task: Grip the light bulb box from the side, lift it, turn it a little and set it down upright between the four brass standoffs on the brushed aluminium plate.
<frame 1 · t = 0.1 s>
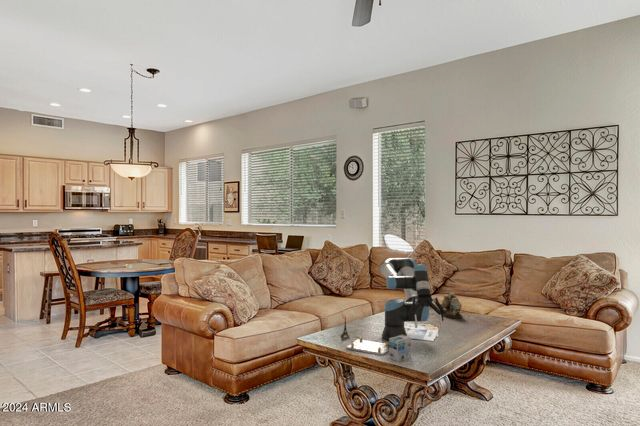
hand: (429, 327, 233), 15 cm above the table, tool tilted 35°, fingers open, 13 cm apart
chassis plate: (369, 347, 246), on the table
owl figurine: (451, 316, 315), on the table
eiffel tower figurine: (346, 338, 266), on the table
light bulb box: (400, 358, 230), on the table
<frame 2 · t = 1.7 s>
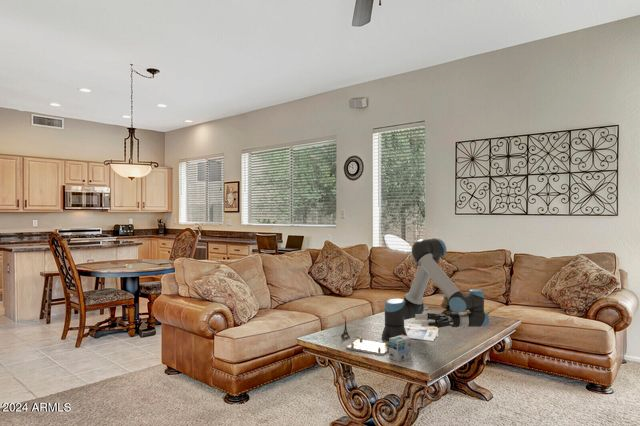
hand: (418, 320, 230), 20 cm above the table, tool horizontal, fingers open, 13 cm apart
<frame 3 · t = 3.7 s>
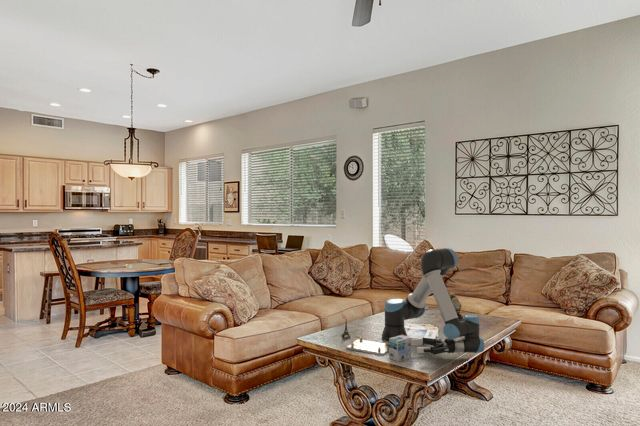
hand: (413, 345, 230), 6 cm above the table, tool horizontal, fingers open, 13 cm apart
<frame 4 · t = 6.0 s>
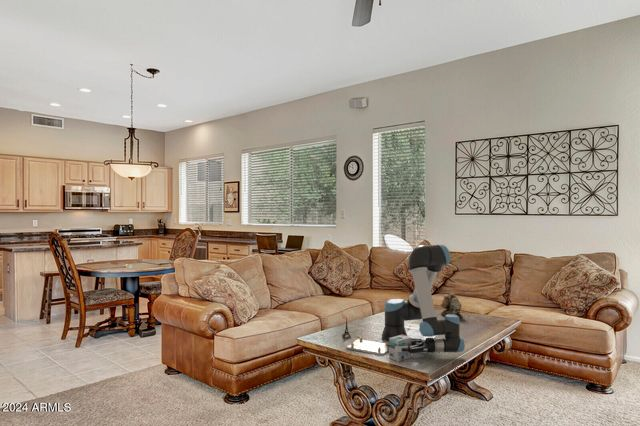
hand: (392, 345, 230), 7 cm above the table, tool horizontal, fingers closed on light bulb box, 11 cm apart
light bulb box: (400, 358, 230), on the table, touching gripper
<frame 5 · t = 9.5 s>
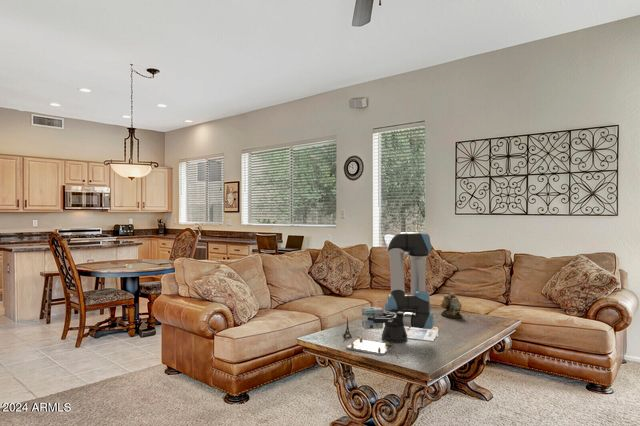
hand: (365, 315, 245), 19 cm above the table, tool horizontal, fingers closed on light bulb box, 11 cm apart
light bulb box: (372, 327, 243), point 12 cm above the table, touching gripper
when the fingers open (9 cm above the table, at t = 12.9 s): light bulb box drops 1 cm, resting on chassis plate.
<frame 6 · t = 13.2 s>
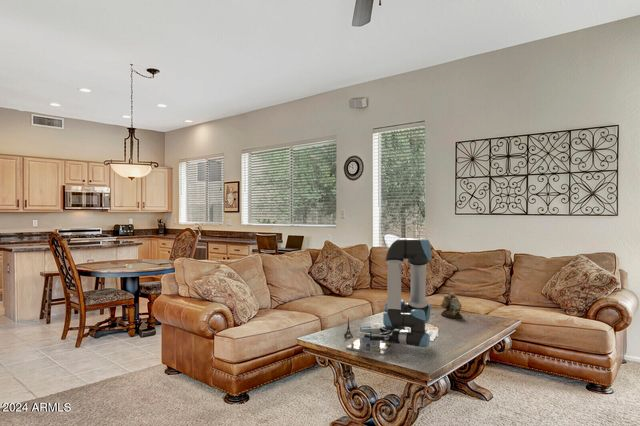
hand: (364, 331, 247), 9 cm above the table, tool horizontal, fingers open, 13 cm apart
light bulb box: (369, 346, 246), point 1 cm above the table, touching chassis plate
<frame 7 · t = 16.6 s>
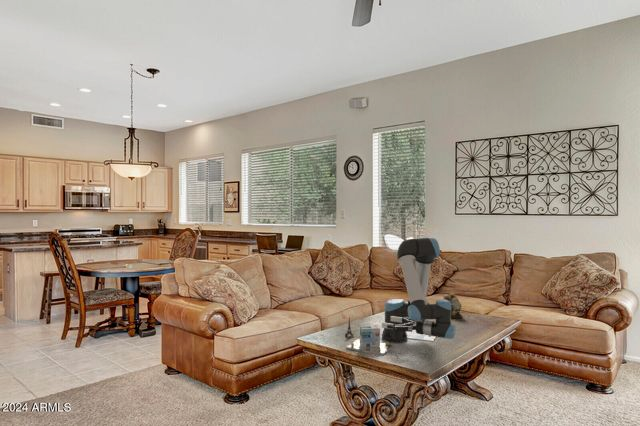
hand: (386, 321, 240), 16 cm above the table, tool horizontal, fingers open, 13 cm apart
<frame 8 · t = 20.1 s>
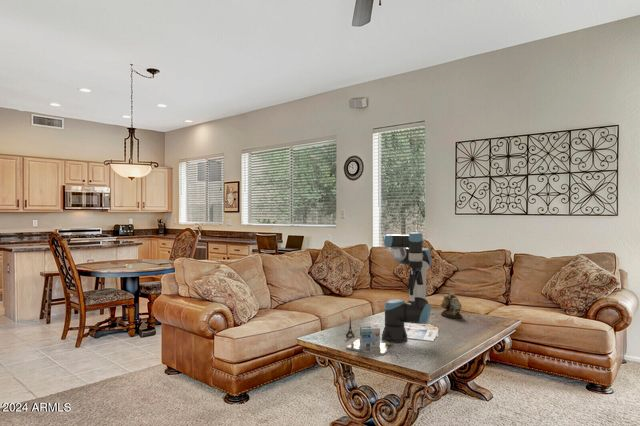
hand: (415, 298, 242), 29 cm above the table, tool pointing down, fingers open, 13 cm apart
at the end: light bulb box 0.1 cm off-centre on the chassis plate, point 1.0 cm above the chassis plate's base; light bulb box tilted 0°; the gripper is holding nothing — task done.
